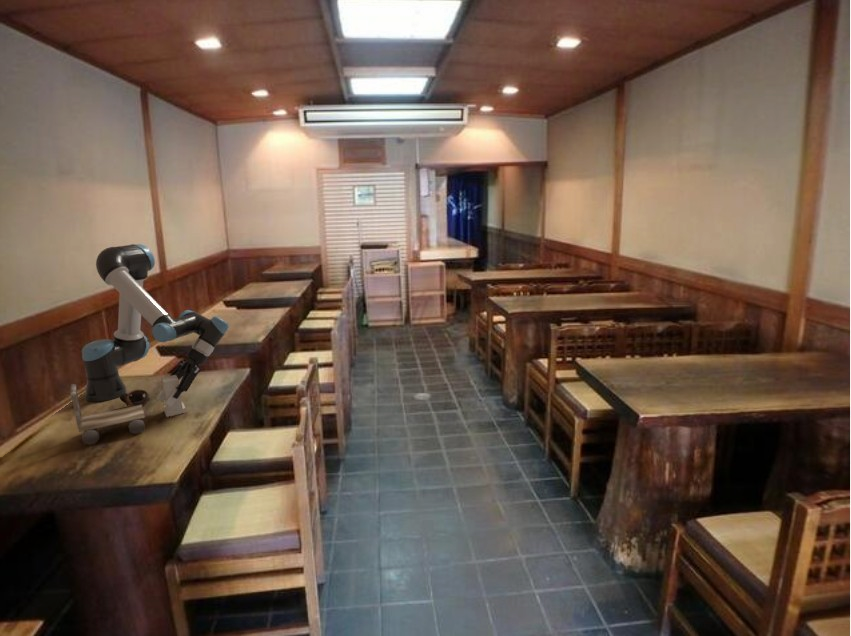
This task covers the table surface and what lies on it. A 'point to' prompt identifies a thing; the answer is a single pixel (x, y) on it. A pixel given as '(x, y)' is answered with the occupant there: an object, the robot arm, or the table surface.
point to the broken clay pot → (135, 398)
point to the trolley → (106, 419)
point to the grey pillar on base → (169, 387)
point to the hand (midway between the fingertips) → (164, 402)
